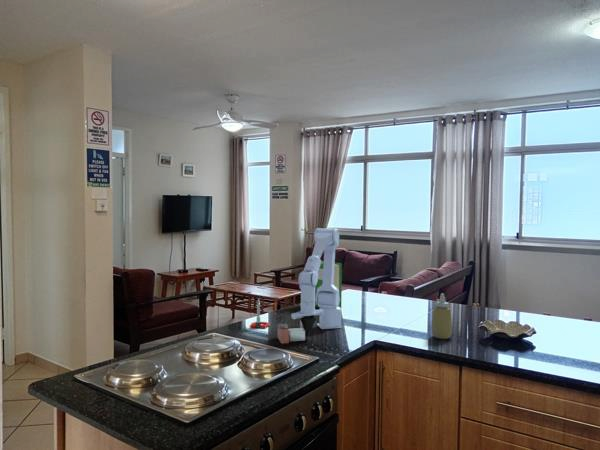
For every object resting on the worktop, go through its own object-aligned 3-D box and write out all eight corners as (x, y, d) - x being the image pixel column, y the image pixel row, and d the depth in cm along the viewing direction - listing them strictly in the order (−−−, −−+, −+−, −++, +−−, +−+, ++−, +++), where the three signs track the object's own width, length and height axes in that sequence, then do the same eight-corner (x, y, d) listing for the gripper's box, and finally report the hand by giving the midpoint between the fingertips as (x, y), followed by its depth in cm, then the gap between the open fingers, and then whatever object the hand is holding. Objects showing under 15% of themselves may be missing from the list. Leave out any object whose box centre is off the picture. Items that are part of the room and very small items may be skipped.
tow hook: (253, 323, 198) (248, 328, 189) (254, 295, 199) (249, 298, 190) (271, 324, 197) (267, 329, 188) (272, 296, 197) (267, 299, 188)
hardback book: (341, 308, 229) (341, 263, 229) (330, 310, 225) (331, 264, 224) (320, 302, 243) (321, 260, 243) (310, 304, 239) (310, 261, 239)
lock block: (302, 337, 175) (302, 327, 175) (305, 340, 171) (305, 330, 171) (288, 338, 174) (288, 328, 174) (290, 341, 170) (290, 331, 170)
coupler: (296, 336, 177) (296, 321, 176) (301, 342, 169) (301, 327, 169) (276, 337, 175) (276, 323, 174) (280, 343, 167) (280, 328, 167)
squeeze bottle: (452, 335, 179) (452, 292, 179) (452, 341, 172) (452, 296, 171) (432, 333, 182) (432, 291, 182) (431, 338, 174) (431, 294, 174)
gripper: (316, 297, 181) (316, 329, 181) (287, 301, 172) (287, 334, 173) (326, 300, 175) (326, 333, 175) (297, 304, 167) (296, 339, 167)
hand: (307, 334), depth 174 cm, fingers closed
